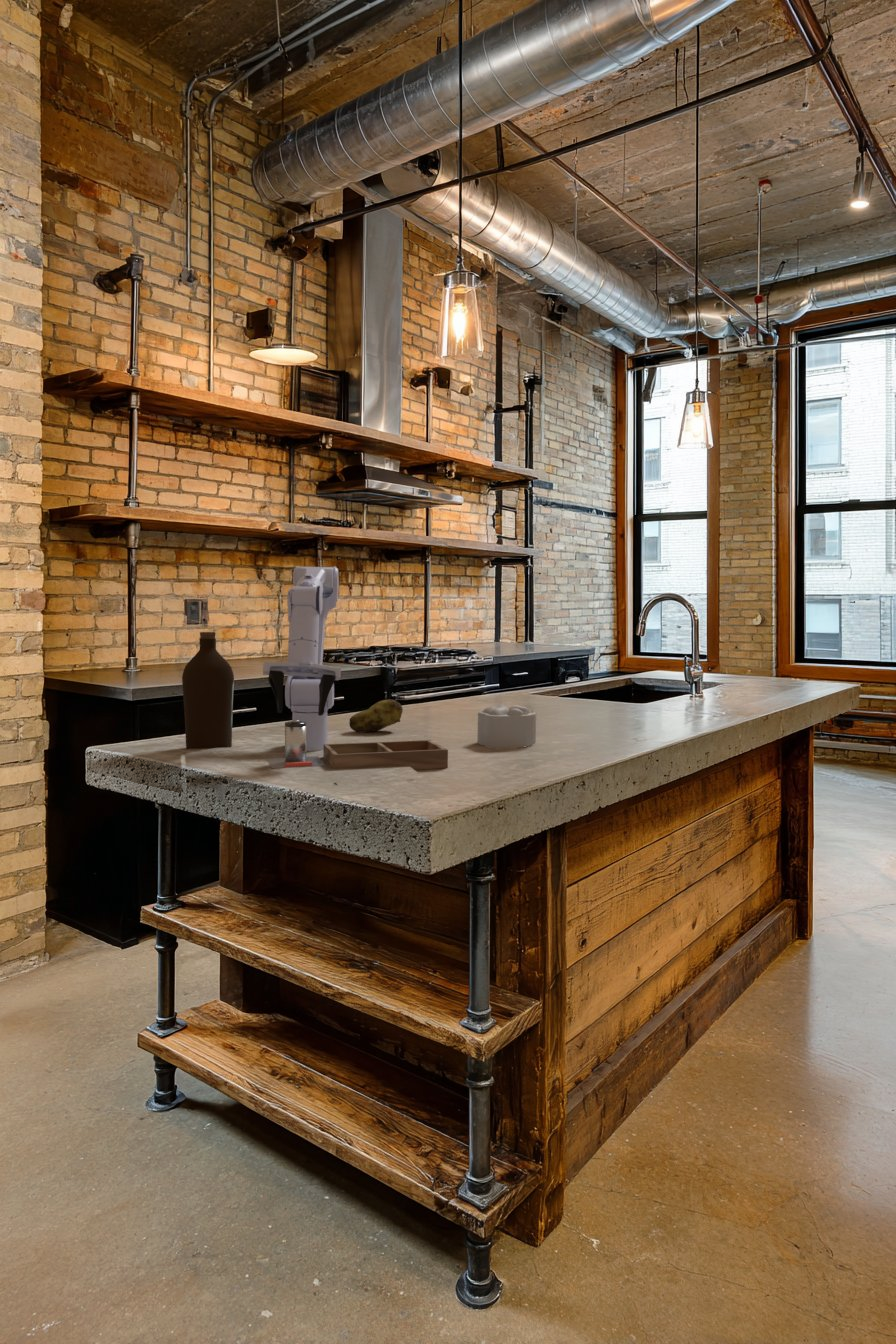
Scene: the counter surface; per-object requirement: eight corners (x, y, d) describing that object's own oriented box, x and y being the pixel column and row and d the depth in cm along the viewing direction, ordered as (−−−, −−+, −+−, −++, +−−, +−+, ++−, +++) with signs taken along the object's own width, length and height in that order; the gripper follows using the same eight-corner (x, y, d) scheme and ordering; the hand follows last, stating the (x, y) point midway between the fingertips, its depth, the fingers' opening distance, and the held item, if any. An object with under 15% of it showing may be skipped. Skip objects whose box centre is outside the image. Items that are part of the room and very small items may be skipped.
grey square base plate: (266, 763, 163) (266, 755, 163) (317, 761, 166) (317, 753, 166) (271, 773, 153) (271, 765, 153) (326, 770, 156) (326, 762, 156)
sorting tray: (323, 761, 165) (323, 744, 165) (429, 756, 172) (429, 740, 172) (334, 773, 154) (334, 754, 154) (447, 767, 161) (447, 749, 160)
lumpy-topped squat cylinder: (473, 742, 192) (473, 704, 191) (524, 739, 196) (524, 702, 196) (491, 749, 182) (492, 710, 181) (544, 746, 187) (545, 708, 186)
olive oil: (195, 754, 171) (193, 633, 169) (175, 747, 179) (173, 631, 177) (243, 749, 178) (242, 632, 176) (222, 743, 186) (220, 631, 184)
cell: (283, 760, 161) (283, 719, 160) (304, 759, 162) (304, 718, 161) (286, 764, 157) (286, 722, 156) (307, 763, 158) (307, 721, 158)
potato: (351, 729, 209) (351, 697, 209) (403, 729, 209) (403, 697, 209) (348, 734, 201) (348, 701, 200) (401, 734, 201) (401, 701, 200)
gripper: (267, 634, 155) (263, 704, 151) (344, 641, 159) (343, 710, 155) (263, 646, 161) (259, 714, 157) (337, 653, 166) (335, 719, 162)
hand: (300, 713), depth 157 cm, fingers open, 7 cm apart
